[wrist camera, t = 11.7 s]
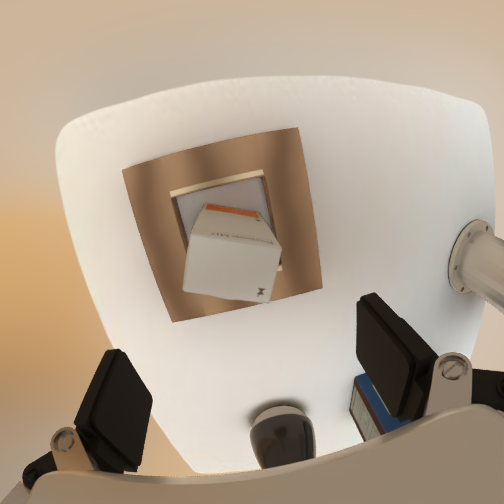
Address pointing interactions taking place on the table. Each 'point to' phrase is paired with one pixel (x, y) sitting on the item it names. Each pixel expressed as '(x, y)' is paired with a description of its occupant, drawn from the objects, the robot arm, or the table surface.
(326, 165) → the table surface
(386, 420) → the protein box
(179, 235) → the wooden square frame
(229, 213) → the skincare box
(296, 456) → the pump dispenser
